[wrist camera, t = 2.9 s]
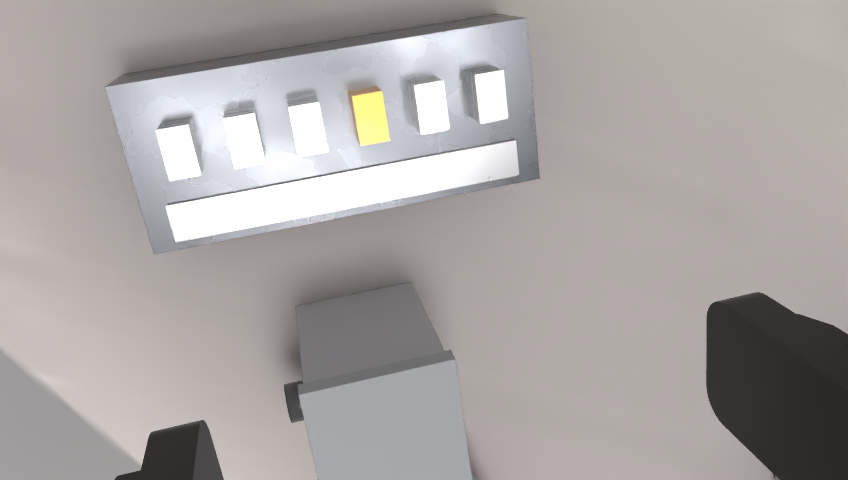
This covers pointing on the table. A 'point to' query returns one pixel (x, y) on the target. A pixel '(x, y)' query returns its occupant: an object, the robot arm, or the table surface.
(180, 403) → the table surface
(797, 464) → the robot arm
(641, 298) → the table surface
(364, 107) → the breaker strip
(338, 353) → the junction box
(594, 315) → the table surface
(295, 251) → the table surface
